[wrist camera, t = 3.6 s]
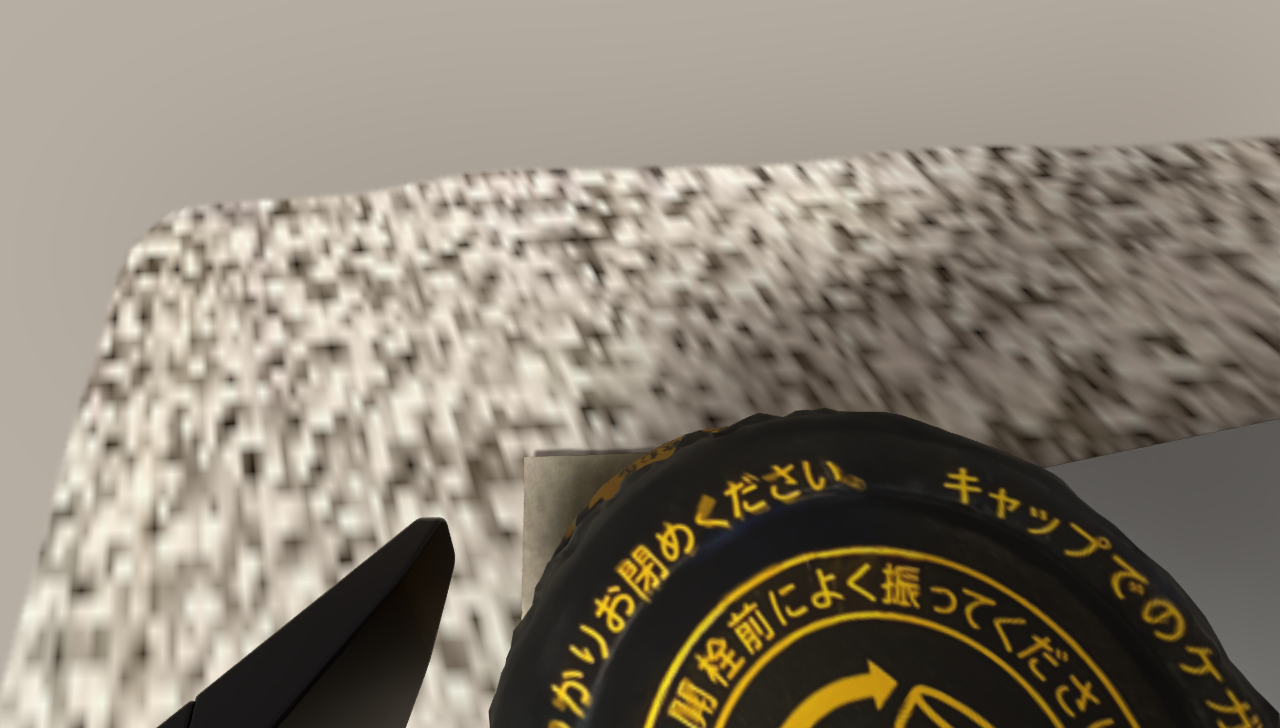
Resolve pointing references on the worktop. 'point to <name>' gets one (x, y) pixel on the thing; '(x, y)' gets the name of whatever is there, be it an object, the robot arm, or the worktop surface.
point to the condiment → (846, 592)
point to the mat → (1205, 530)
